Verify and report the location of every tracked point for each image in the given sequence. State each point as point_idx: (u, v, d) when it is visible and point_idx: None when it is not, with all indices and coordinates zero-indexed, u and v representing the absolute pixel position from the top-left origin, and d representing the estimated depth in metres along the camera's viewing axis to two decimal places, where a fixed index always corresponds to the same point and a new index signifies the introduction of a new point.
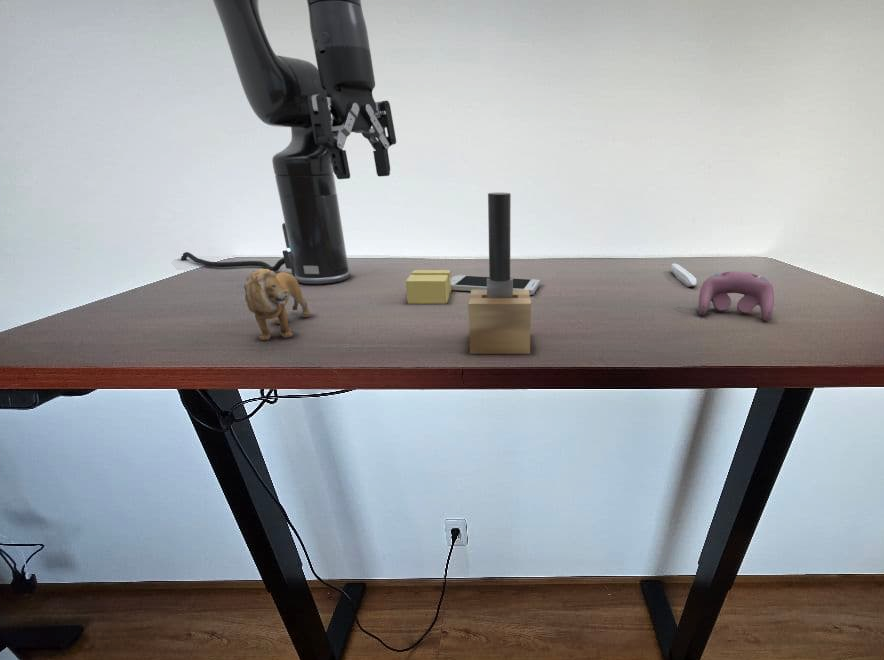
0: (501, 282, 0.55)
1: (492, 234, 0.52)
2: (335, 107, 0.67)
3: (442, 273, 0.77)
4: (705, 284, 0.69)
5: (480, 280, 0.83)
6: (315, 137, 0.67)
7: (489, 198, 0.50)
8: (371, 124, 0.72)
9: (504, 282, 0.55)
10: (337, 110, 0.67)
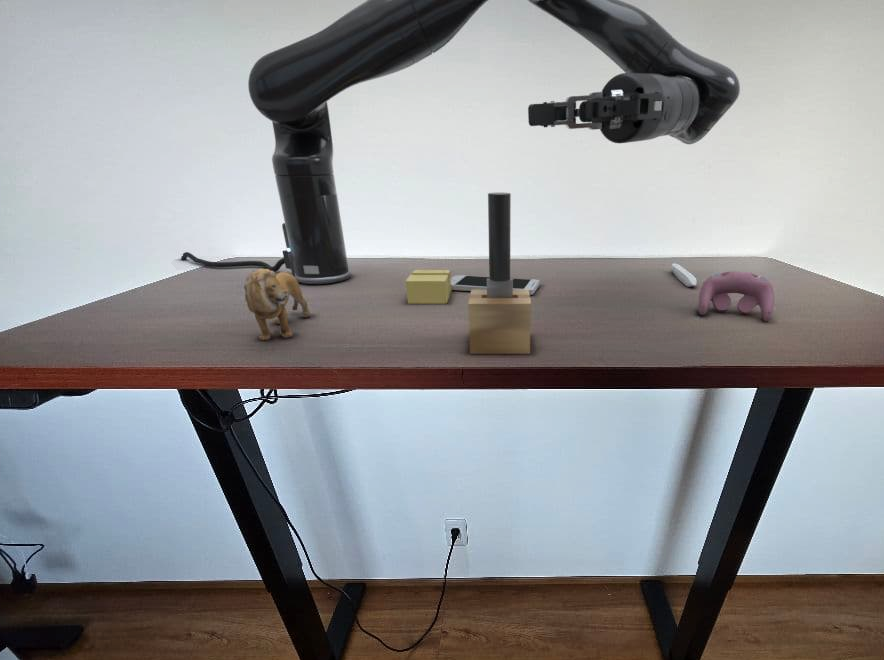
0: (501, 282, 0.55)
1: (492, 234, 0.52)
2: None
3: (442, 273, 0.77)
4: (705, 284, 0.69)
5: (480, 280, 0.83)
6: (641, 96, 0.51)
7: (489, 198, 0.50)
8: (583, 124, 0.59)
9: (504, 282, 0.55)
10: None
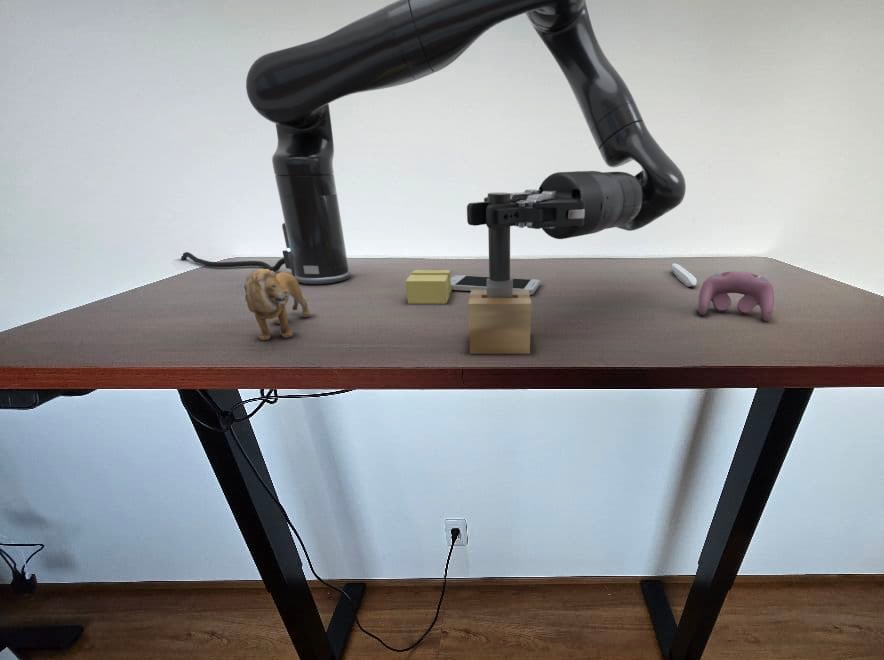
0: (501, 282, 0.55)
1: (492, 234, 0.52)
2: None
3: (442, 273, 0.77)
4: (705, 284, 0.69)
5: (480, 280, 0.83)
6: (543, 206, 0.50)
7: (489, 198, 0.50)
8: None
9: (504, 282, 0.55)
10: None
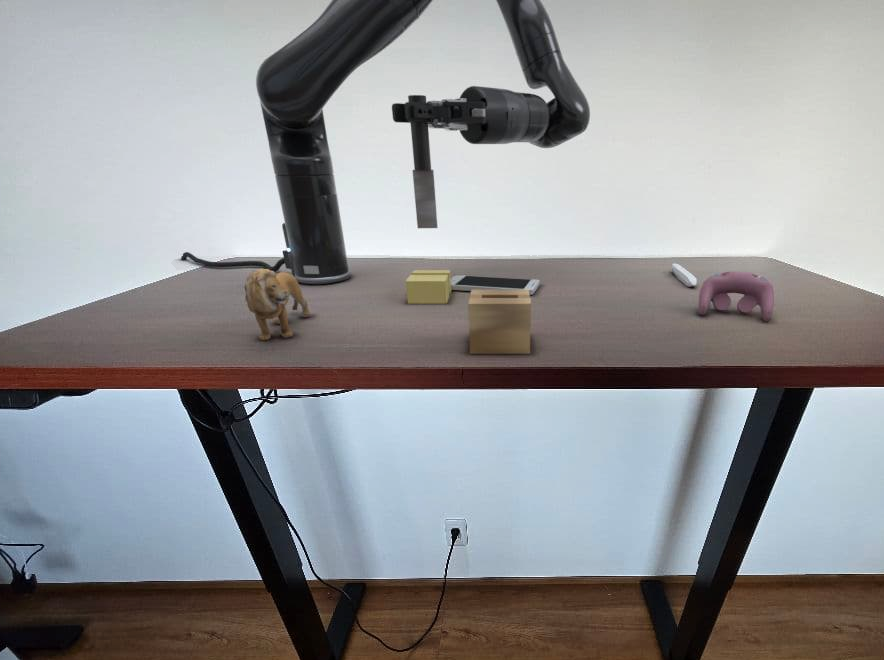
0: (424, 172, 0.69)
1: (413, 129, 0.66)
2: None
3: (442, 273, 0.77)
4: (705, 284, 0.69)
5: (480, 280, 0.83)
6: (449, 104, 0.64)
7: (408, 99, 0.65)
8: None
9: (426, 172, 0.69)
10: None
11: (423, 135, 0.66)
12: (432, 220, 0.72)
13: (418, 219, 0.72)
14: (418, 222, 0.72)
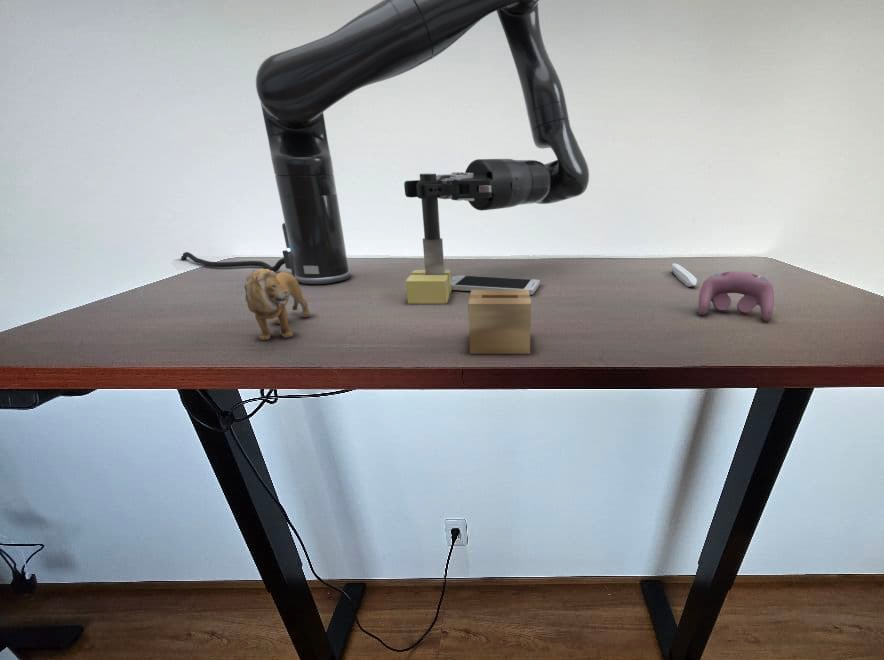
0: (433, 241, 0.74)
1: (423, 204, 0.71)
2: None
3: None
4: (705, 284, 0.69)
5: (480, 280, 0.83)
6: (458, 182, 0.69)
7: (420, 177, 0.69)
8: None
9: (435, 241, 0.74)
10: None
11: (433, 209, 0.71)
12: None
13: None
14: None
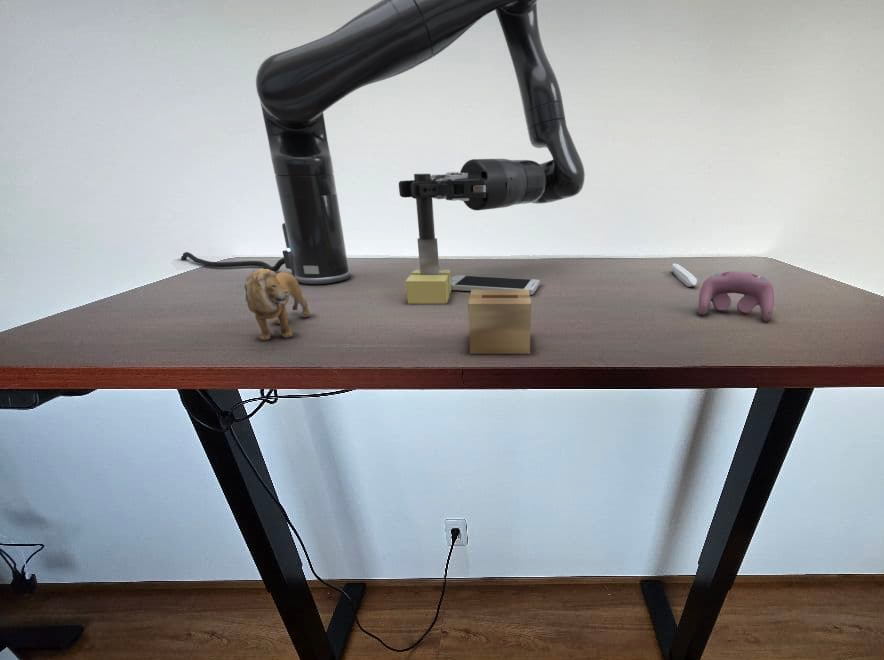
0: (428, 241, 0.74)
1: (418, 204, 0.71)
2: None
3: (442, 273, 0.77)
4: (705, 284, 0.69)
5: (480, 280, 0.83)
6: (452, 182, 0.69)
7: (414, 177, 0.69)
8: None
9: (430, 241, 0.74)
10: None
11: (428, 209, 0.71)
12: None
13: None
14: None
